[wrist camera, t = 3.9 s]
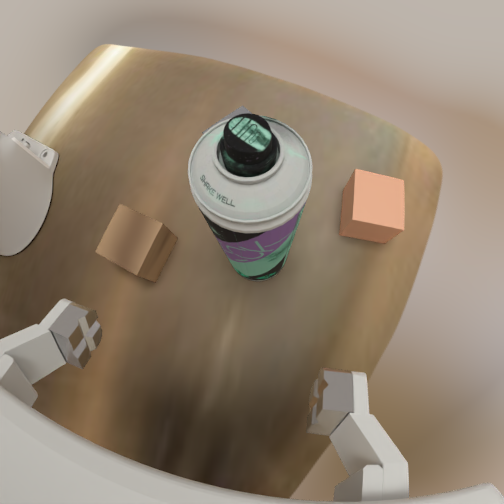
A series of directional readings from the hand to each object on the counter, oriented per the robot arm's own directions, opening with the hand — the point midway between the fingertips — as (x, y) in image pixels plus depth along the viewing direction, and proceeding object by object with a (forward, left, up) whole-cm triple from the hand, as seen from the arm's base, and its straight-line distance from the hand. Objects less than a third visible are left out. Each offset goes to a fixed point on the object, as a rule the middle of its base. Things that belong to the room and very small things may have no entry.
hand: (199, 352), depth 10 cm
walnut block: (-13, 0, -19) cm, 23 cm away
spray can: (-4, +7, -19) cm, 20 cm away
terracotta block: (+2, +17, -19) cm, 25 cm away
